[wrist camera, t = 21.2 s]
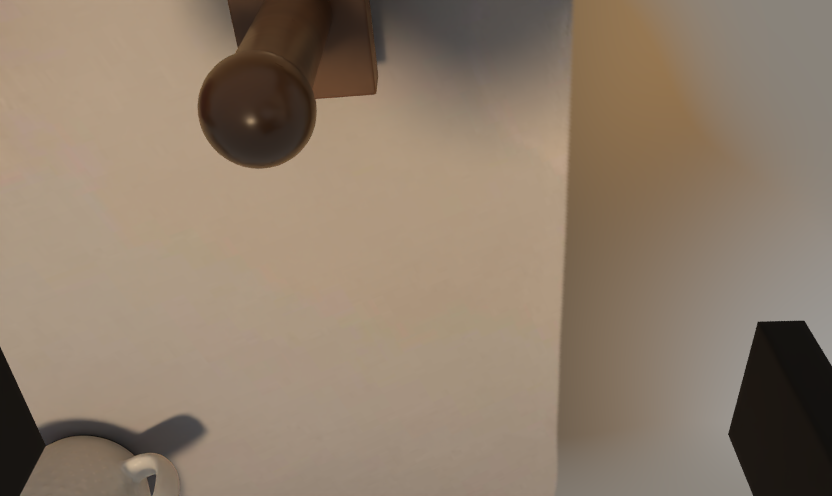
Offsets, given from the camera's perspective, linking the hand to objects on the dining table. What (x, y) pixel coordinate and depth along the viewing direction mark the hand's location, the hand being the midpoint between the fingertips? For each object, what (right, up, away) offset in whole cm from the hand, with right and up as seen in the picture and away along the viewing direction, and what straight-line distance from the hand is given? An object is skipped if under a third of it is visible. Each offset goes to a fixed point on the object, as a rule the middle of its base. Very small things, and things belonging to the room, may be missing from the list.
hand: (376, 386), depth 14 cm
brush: (-4, +14, +21) cm, 26 cm away
